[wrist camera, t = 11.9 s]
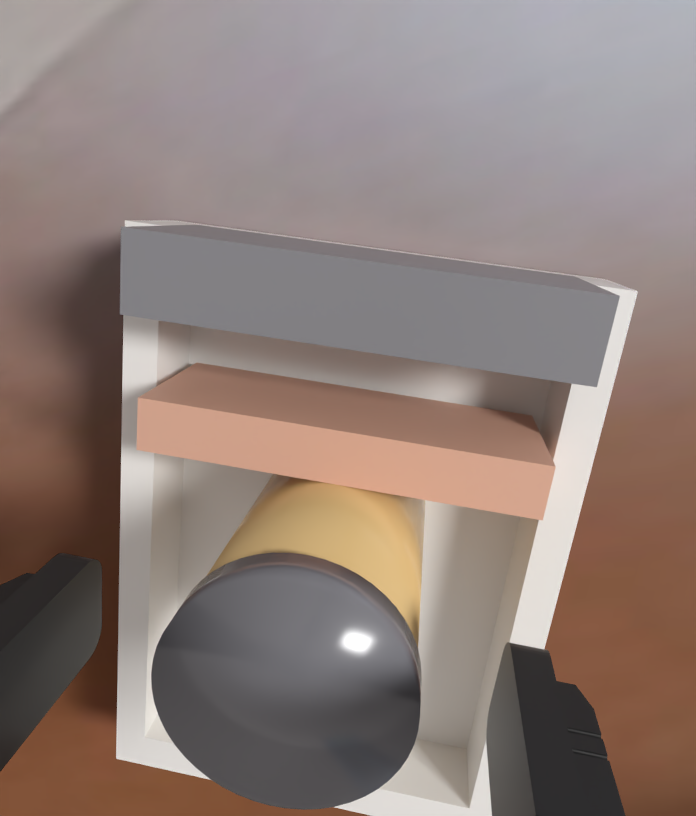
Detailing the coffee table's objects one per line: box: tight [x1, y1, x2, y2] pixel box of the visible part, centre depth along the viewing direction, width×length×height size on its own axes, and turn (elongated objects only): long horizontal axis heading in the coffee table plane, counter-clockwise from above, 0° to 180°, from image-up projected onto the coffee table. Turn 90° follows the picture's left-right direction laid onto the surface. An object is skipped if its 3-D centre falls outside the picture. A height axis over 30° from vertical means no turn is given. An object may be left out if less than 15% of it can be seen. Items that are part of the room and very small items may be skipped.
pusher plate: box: [137, 363, 556, 520], centre depth 17 cm, size 1×10×4 cm, turn 83°
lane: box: [116, 220, 638, 816], centre depth 19 cm, size 18×13×5 cm
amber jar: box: [151, 474, 425, 809], centre depth 16 cm, size 5×5×9 cm
